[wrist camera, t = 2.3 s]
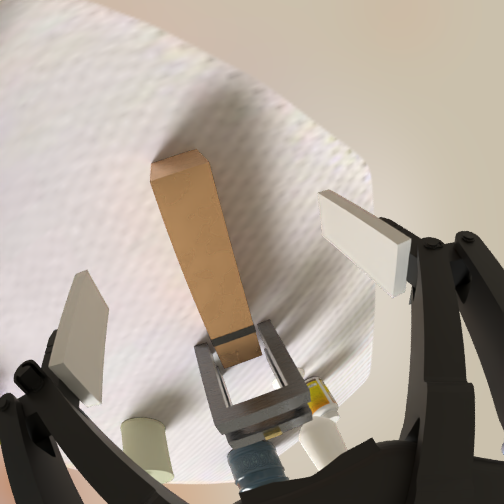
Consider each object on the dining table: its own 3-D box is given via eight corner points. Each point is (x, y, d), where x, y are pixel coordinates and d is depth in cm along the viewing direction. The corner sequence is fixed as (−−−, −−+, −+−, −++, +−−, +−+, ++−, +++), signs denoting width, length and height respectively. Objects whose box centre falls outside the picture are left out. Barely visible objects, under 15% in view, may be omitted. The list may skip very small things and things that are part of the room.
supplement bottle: (291, 392, 57) (312, 431, 48) (305, 375, 55) (329, 414, 46) (312, 392, 59) (332, 428, 50) (325, 375, 57) (349, 411, 49)
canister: (277, 435, 65) (303, 491, 50) (269, 454, 71) (291, 504, 56) (226, 446, 61) (248, 507, 46) (225, 464, 67) (243, 517, 52)
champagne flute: (296, 362, 52) (360, 470, 32) (309, 376, 55) (368, 473, 35) (266, 382, 52) (320, 492, 32) (281, 394, 56) (332, 493, 35)
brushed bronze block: (150, 163, 29) (149, 181, 23) (196, 148, 30) (209, 162, 23) (210, 327, 42) (224, 369, 35) (244, 315, 43) (262, 355, 36)
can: (158, 414, 48) (167, 469, 38) (170, 435, 53) (180, 483, 42) (113, 420, 46) (117, 474, 36) (129, 440, 50) (135, 488, 40)
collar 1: (194, 346, 42) (214, 425, 31) (269, 319, 44) (309, 390, 33) (200, 358, 44) (222, 434, 32) (272, 332, 46) (310, 401, 34)
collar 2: (206, 369, 46) (229, 446, 33) (275, 344, 48) (313, 414, 35) (211, 379, 47) (234, 453, 35) (278, 355, 49) (314, 423, 37)
